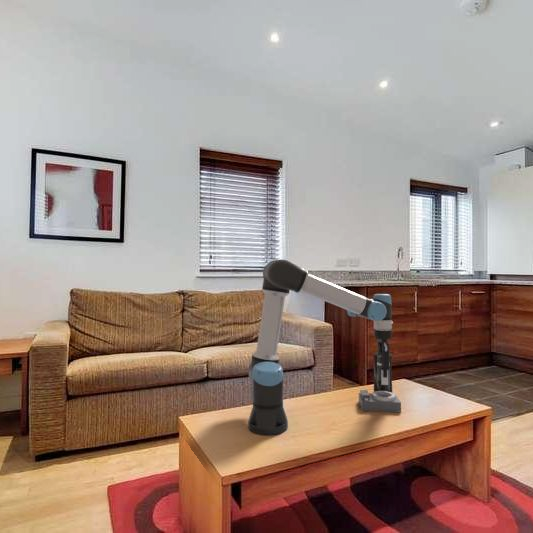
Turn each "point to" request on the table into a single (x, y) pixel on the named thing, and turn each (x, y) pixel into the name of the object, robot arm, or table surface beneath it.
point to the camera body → (379, 401)
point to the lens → (380, 386)
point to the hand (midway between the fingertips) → (383, 382)
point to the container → (377, 373)
